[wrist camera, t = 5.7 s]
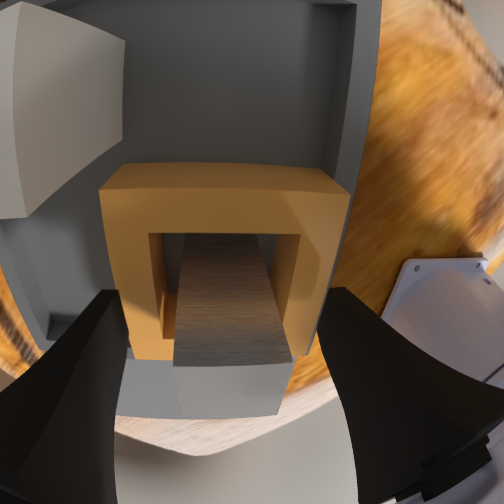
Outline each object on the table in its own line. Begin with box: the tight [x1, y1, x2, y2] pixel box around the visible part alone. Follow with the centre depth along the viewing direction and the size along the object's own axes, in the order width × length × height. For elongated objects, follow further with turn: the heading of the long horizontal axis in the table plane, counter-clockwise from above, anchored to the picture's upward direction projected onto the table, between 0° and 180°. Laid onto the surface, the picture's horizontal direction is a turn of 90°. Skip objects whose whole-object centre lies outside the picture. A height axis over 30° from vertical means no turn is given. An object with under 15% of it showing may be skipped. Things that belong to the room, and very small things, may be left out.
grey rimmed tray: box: [0, 0, 382, 361], centre depth 10 cm, size 16×18×4 cm
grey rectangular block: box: [173, 233, 294, 419], centre depth 11 cm, size 3×3×7 cm
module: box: [0, 1, 125, 219], centre depth 6 cm, size 4×4×7 cm
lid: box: [116, 356, 297, 419], centre depth 19 cm, size 16×11×1 cm, turn 85°
